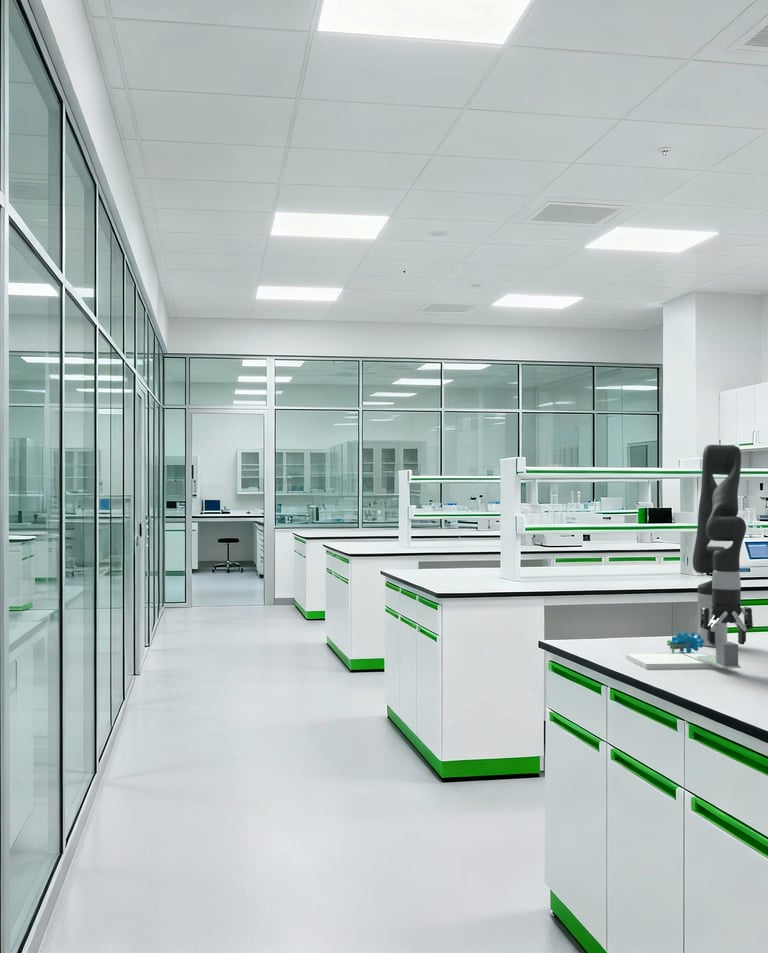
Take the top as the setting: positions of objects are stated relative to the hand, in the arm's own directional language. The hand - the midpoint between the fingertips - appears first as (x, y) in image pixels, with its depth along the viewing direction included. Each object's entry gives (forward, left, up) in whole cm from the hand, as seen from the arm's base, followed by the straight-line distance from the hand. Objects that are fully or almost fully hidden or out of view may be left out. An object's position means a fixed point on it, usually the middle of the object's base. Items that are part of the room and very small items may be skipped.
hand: (726, 644), depth 244 cm
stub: (-5, 0, -6) cm, 8 cm away
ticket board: (-14, -9, -8) cm, 19 cm away
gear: (-30, +1, -8) cm, 32 cm away
